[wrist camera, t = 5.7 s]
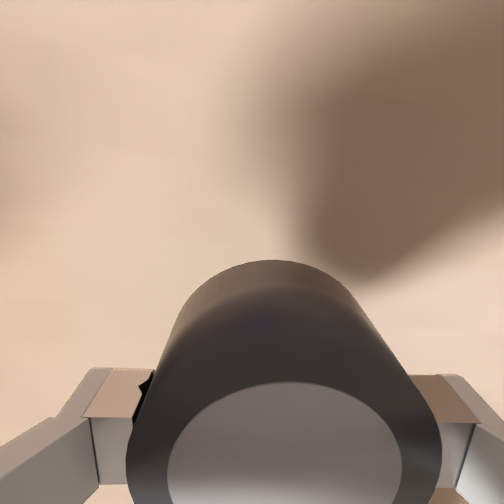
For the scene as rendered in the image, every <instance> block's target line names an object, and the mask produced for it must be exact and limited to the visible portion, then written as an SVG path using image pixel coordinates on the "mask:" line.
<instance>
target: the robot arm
mask: <svg viewBox="0 0 504 504" xmlns="http://www.w3.org/2000/svg"><path fill="white" fill-rule="evenodd" d="M154 374H155V370H154V369H133V368H101V367H94V368H92V369H90V370H89V371H88V372H87V374H86V375H85V377H84V378H83V380H82V381H81V382H80V384H79V385H78V387H77V388H76V390H75V391H74V392H73V394H72V395H71V397H70V398H69V400H68V401H67V402H66V404H65V405H64V407H63V408H62V409H61V411H60V412H59V414H58V415H57V417H56V418H47V419H46V420H44V421H42V422H41V423H39V424H38V425H36V426H34V427H33V428H31V429H29V430H28V431H26V432H24V433H23V434H21V435H19V436H18V437H16V438H14V439H13V440H11V441H9V442H8V443H6V444H4V445H3V446H1V447H0V504H83V503H84V502H85V501H86V500H87V499H88V498H89V497H90V496H91V495H92V494H93V493H94V492H95V491H96V490H97V489H98V488H99V485H111V484H128V483H127V478H126V463H125V458H126V452H127V445H128V441H129V438H130V435H131V432H132V429H133V426H134V424H135V421H136V419H137V416H138V414H139V411H140V409H141V406H142V404H143V401H144V399H145V396H146V394H147V391H148V389H149V386H150V384H151V381H152V379H153V376H154ZM408 376H409V377H410V379H411V380H412V382H413V383H414V384H415V386H416V387H417V389H418V390H419V392H420V393H421V394H422V396H423V397H424V399H425V400H426V402H427V404H428V405H429V407H430V409H431V411H432V413H433V414H434V416H435V419H436V422H437V425H438V428H439V431H440V436H441V442H442V465H441V470H440V475H439V479H438V482H437V485H436V487H435V488H455V489H456V491H457V492H458V493H459V494H460V495H461V496H462V497H463V498H464V499H465V500H466V501H467V502H468V503H470V504H504V421H503V420H502V419H501V418H500V417H499V416H498V415H497V414H496V413H495V411H494V410H493V409H492V408H491V407H490V406H489V405H488V404H487V403H486V402H485V401H484V400H483V399H482V397H481V396H480V395H479V394H478V393H477V392H476V391H475V390H474V389H473V388H472V387H471V386H470V385H469V384H468V382H467V381H466V380H465V379H464V378H463V377H461V376H460V375H458V374H436V375H420V374H408Z"/></svg>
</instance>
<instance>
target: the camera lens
mask: <svg viewBox="0 0 504 504" xmlns="http://www.w3.org/2000/svg"><path fill="white" fill-rule="evenodd" d="M125 463H126V478H127V483H128V488H129V491H130V494H131V496H132V499H133V501H134V504H427V503H428V502H429V500H430V498H431V496H432V494H433V493H434V490H435V487H436V485H437V482H438V479H439V475H440V470H441V465H442V442H441V436H440V431H439V428H438V425H437V422H436V419H435V416H434V414H433V413H432V411H431V409H430V407H429V405H428V404H427V402H426V400H425V399H424V397H423V396H422V394H421V393H420V392H419V390H418V389H417V387H416V386H415V384H414V383H413V382H412V380H411V379H410V377H409V376H408V374H407V373H406V371H405V370H404V369H403V367H402V366H401V364H400V363H399V361H398V360H397V358H396V357H395V356H394V354H393V353H392V351H391V350H390V348H389V347H388V345H387V344H386V343H385V341H384V340H383V338H382V337H381V335H380V334H379V333H378V331H377V330H376V328H375V327H374V325H373V324H372V322H371V321H370V320H369V318H368V317H367V315H366V314H365V312H364V311H363V309H362V308H361V307H360V305H359V304H358V302H357V301H356V300H355V298H354V297H353V296H352V295H351V293H350V292H349V291H348V290H347V289H346V288H345V287H344V286H343V285H342V284H341V283H340V282H338V281H337V280H335V279H334V278H332V277H331V276H330V275H328V274H326V273H324V272H322V271H320V270H318V269H316V268H313V267H310V266H308V265H305V264H301V263H296V262H292V261H282V260H261V261H255V262H249V263H245V264H241V265H238V266H234V267H232V268H230V269H227V270H225V271H223V272H221V273H219V274H217V275H216V276H214V277H212V278H211V279H209V280H208V281H206V282H205V283H204V284H203V285H201V286H200V287H199V288H198V289H197V290H196V291H195V292H194V293H193V294H192V295H191V296H190V297H189V299H188V300H187V302H186V303H185V304H184V306H183V307H182V309H181V311H180V313H179V315H178V317H177V319H176V322H175V324H174V327H173V329H172V332H171V334H170V337H169V339H168V342H167V344H166V346H165V349H164V351H163V354H162V356H161V359H160V361H159V364H158V366H157V369H156V371H155V374H154V376H153V379H152V381H151V384H150V386H149V389H148V391H147V394H146V396H145V399H144V401H143V404H142V406H141V409H140V411H139V414H138V416H137V419H136V421H135V424H134V426H133V429H132V432H131V435H130V438H129V441H128V445H127V452H126V458H125Z"/></svg>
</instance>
